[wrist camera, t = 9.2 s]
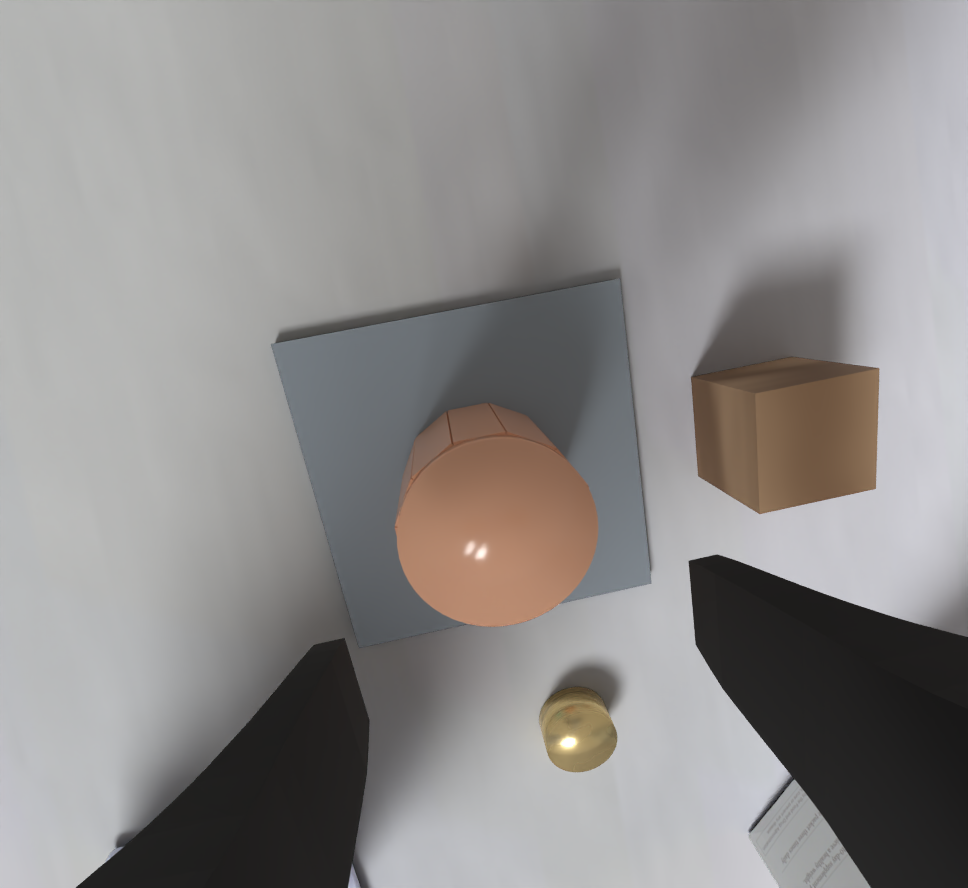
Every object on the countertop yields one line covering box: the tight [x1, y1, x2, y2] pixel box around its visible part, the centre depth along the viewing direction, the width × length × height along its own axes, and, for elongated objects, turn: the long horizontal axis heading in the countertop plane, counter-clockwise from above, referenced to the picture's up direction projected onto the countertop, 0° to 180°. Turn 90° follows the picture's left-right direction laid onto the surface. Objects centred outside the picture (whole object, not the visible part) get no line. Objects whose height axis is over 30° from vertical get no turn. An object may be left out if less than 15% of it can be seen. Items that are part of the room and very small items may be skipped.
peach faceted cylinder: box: [395, 403, 598, 627], centre depth 17 cm, size 6×6×5 cm
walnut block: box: [691, 357, 879, 514], centre depth 18 cm, size 4×4×4 cm
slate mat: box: [271, 279, 651, 648], centre depth 19 cm, size 12×12×1 cm
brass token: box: [539, 687, 617, 772], centre depth 22 cm, size 3×3×2 cm
